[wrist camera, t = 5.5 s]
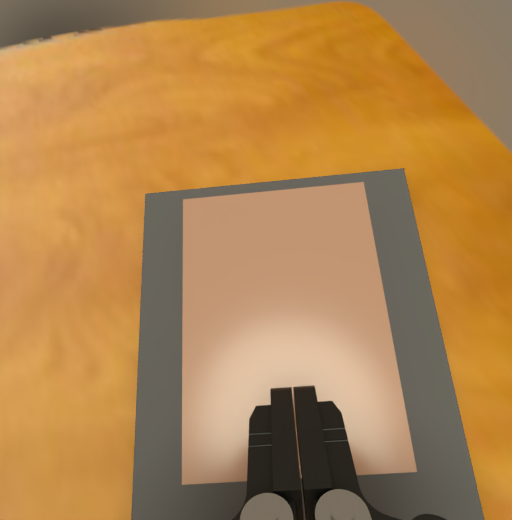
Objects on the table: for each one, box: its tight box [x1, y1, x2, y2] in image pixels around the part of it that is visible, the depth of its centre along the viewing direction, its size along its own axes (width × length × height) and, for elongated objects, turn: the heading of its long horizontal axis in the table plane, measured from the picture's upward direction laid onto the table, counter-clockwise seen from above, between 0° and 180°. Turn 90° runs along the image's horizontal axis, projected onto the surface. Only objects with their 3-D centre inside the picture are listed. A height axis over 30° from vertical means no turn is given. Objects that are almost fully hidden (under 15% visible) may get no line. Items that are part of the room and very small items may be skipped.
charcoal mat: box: [131, 168, 484, 520], centre depth 20 cm, size 20×16×1 cm
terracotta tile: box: [182, 182, 417, 485], centre depth 20 cm, size 2×10×14 cm
